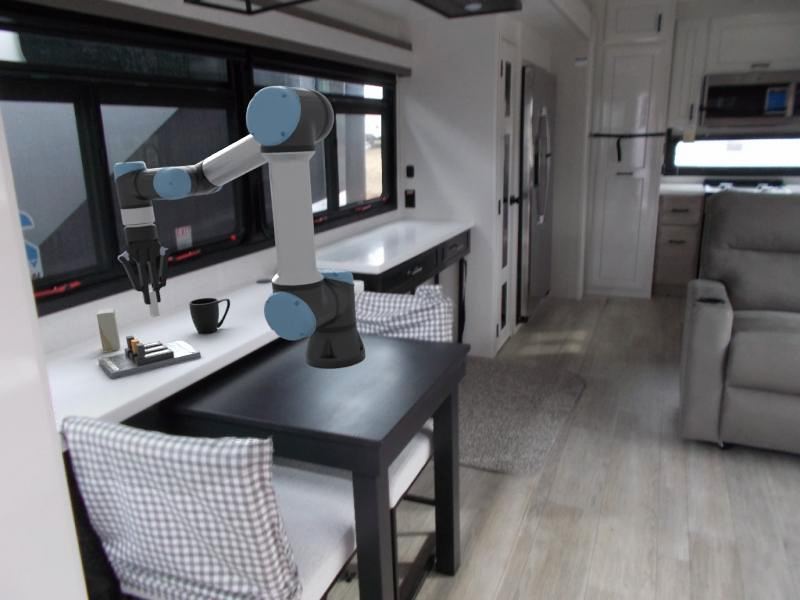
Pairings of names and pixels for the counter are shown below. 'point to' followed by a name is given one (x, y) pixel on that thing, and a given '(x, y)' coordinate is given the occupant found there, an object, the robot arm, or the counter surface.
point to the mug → (207, 314)
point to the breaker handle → (134, 345)
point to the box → (108, 330)
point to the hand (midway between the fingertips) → (155, 315)
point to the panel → (136, 369)
